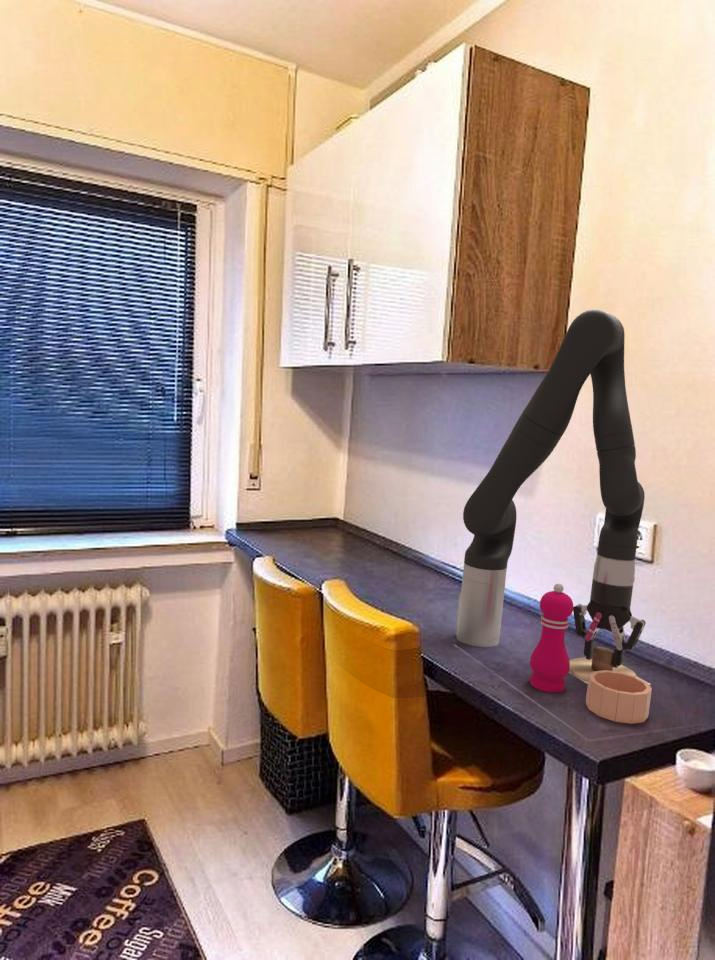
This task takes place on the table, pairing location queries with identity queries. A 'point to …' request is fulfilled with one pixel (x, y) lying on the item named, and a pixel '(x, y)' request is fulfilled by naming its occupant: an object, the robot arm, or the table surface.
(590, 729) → the table surface
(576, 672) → the lid
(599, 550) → the robot arm
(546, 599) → the pepper mill
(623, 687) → the bowl
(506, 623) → the table surface
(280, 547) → the table surface
